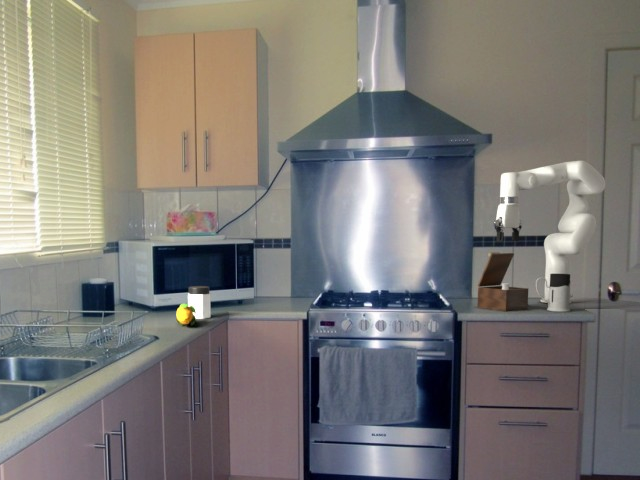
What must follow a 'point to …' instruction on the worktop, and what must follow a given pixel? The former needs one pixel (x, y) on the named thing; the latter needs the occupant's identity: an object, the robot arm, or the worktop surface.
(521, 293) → the chest
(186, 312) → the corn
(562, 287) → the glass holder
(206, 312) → the jar
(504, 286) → the flask
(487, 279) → the lid
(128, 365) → the worktop surface
